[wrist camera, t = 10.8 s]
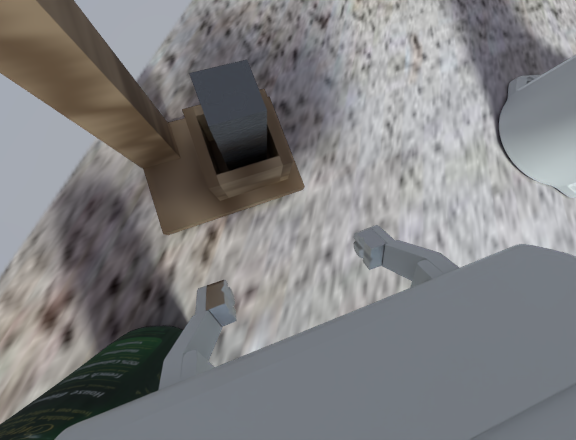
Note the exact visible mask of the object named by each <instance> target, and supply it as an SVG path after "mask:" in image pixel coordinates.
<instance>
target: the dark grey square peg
mask: <svg viewBox="0 0 576 440" xmlns="http://www.w3.org/2000/svg"><path fill="white" fill-rule="evenodd" d="M189 74H190V76H191V79H192V82H193V85H194V87H195V90H196V93H197V96H198V99H199V101H200V104H201V107H202V110H203V112H204V115H205V118H206V121H207V123H208V126H209V128H210V131H211V133H212V135H213V137H214V139H215V141H216V144H217V146H218V148H219V150H220V152H221V154H222V157H223V159H224V161H225V163H226V165H227V167H228V170H229V171H231V170H234V169H238V168H241V167H244V166H248V165H251V164H254V163H257V162H261V161H264V160H267V109H266V106H265V104H264V101H263V99H262V96H261V94H260V91H259V89H258V86H257V84H256V81H255V79H254V76H253V74H252V71H251V69H250V66H249V63H248V61H247V60H243V61H239V62H235V63H231V64H226V65H222V66H218V67H214V68H209V69H205V70H201V71H197V72H192V73H189Z"/></svg>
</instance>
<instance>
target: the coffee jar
mask: <svg viewBox="0 0 576 440" xmlns="http://www.w3.org/2000/svg"><path fill="white" fill-rule="evenodd" d="M182 332H183V331H182V330H181V329H179V328H176V327H171V326H151V327H143V328H139V329H135V330H132V331H130V332H128V333H127V334H125V335H123V336H122V337H120V338H119V339H117V340H116V341H114V342H113V343H111V344H110V345H109V346H107V347H106V348H105V349H103V350H102V351H101V352H99V353H98V354H97V355H95V356H94V357H93V358H91V359H90V360H89V361H87V362H86V363H85V364H84V365H82V366H81V367H80V368H78V369H77V370H76V371H74V372H73V373H72V374H70V375H69V376H68V377H66V378H65V379H63V380H62V381H61V382H59V383H58V384H57V385H55V386H54V387H52V388H51V389H50V390H48V391H47V392H45V393H44V394H43V395H41V396H40V397H39V398H37V399H36V400H34V401H33V402H32V403H30V404H29V405H27V406H26V407H25V408H23V409H22V410H20V411H19V412H18V413H16V414H15V415H13V416H12V417H10V418H9V419H8V420H6V421H5V422H3V423H2V424H0V440H54V439H55V438H56V437H57V436H58V435H59V434H60V433H61V432H62V431H64V430H65V429H67V428H68V427H70V426H72V425H74V424H76V423H79V422H81V421H84V420H86V419H89V418H91V417H94V416H96V415H99V414H101V413H104V412H106V411H109V410H111V409H114V408H116V407H119V406H121V405H123V404H126V403H128V402H131V401H133V400H136V399H138V398H141V397H143V396H146V395H148V394H151V393H153V392H156V391H158V390H159V384H160V379H161V373H162V368H163V362H164V359H165V358H166V356H167V355H168V353H169V352H170V350H171V349H172V347H173V346H174V344H175V342H176V341H177V339H178V338H179V336H180V335H181V333H182Z"/></svg>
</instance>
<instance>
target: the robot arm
mask: <svg viewBox="0 0 576 440" xmlns="http://www.w3.org/2000/svg"><path fill="white" fill-rule="evenodd" d="M499 132H500V137H501V141H502V144H503V146H504V149H505V151H506V152H507V154H508V156H509V157H510V159H511V160H512V162H513V163H514V164H515V165H516V166H517V167H518V168H519V169H520V170H521V171H522V172H523V173H524V174H526V175H527V176H529V177H530V178H532V179H534V180H536V181H538V182H541V183H544V184H547V185H550V186H553V187H555V188H557V189H558V190H559V191H561V192H562V193H563V194H565V195H566V196H568V197H570V198H576V55H574V56H573V57H571V58H569V59H568V60H566V61H564V62H563V63H561V64H559V65H558V66H556V67H554V68H553V69H551V70H549V71H548V72H546V73H544V74H543V75H527V76H519V77H518V78H516V79H514V80H512V81H511V82H510V83H509V88H508V99H507V101H506V103H505V105H504V107H503V109H502V111H501V114H500V119H499ZM354 239H355V242H354V249H355V252H356V254H357V255H358V256H359V257H360V258H363V262H364V264H365V265H366V266H367V267H368V269H369V270H370V269H373V268H376V267H379V266H383V267H385V268H387V269H389V270H391V271H393V272H395V273H397V274H399V275H401V276H403V277H405V278H407V279H409V280H411V281H412V284H411V287H410V288H409V289H406V290H404V291H402V292H399V293H397V294H394V295H392V296H389V297H387V298H384V299H382V300H379V301H377V302H374V303H372V304H370V305H367V306H365V307H362V308H360V309H357V310H355V311H352V312H350V313H347V314H345V315H342V316H340V317H338V318H335V319H333V320H330V321H328V322H325V323H323V324H320V325H318V326H315V327H313V328H311V329H308V330H306V331H303V332H301V333H298V334H296V335H293V336H291V337H289V338H286V339H284V340H281V341H279V342H276V343H274V344H271V345H269V346H266V347H264V348H261V349H259V350H257V351H254V352H252V353H249V354H247V355H244V356H242V357H239V358H237V359H234V360H232V361H229V362H227V363H225V364H222V365H220V366H217V367H214V366H213V365H212V364H211V363H210V362H209V358H210V356H211V354H212V351H213V349H214V346H215V344H216V342H217V339H218V337H219V334H220V332H221V330H222V327H223V326H225V325H228V324H230V323H233V322H235V321H237V320H236V310H235V308H234V307H233V306H234V304H235V299H234V295H233V292H232V290H231V288H230V287H228V283H227V281H226V280H222V281H219V282H216V283H213V284H210V285H207V286H204V287H201V288H198V291H197V299H196V312H195V315H194V316H192V318H191V319H190V321H189V322H188V324H187V325H186V327H185V328H184V330H183V332H182V333H181V335H180V336H179V338H178V339H177V341H176V342H175V344H174V346H173V347H172V349H171V350H170V352H169V353H168V355H167V356H166V358H165V359H164V362H163V368H162V373H161V379H160V384H159V390H158V391H156V392H153V393H151V394H148V395H146V396H143V397H141V398H138V399H136V400H133V401H131V402H128V403H126V404H123V405H121V406H119V407H116V408H114V409H111V410H109V411H106V412H104V413H101V414H99V415H96V416H94V417H91V418H89V419H86V420H84V421H81V422H79V423H76V424H74V425H72V426H70V427H68V428H67V429H65V430H64V431H62V432H61V433H60V434H59V435H58V436H57V437H56V438H55V439H54V440H576V257H575V256H573V255H570V254H568V253H564V252H560V251H556V250H552V249H547V248H543V247H538V246H533V245H527V244H519V245H515V246H512V247H510V248H507V249H505V250H502V251H500V252H497V253H495V254H492V255H490V256H488V257H485V258H483V259H480V260H478V261H475V262H473V263H470V264H468V265H465V266H463V267H461V268H459V267H458V266H456V265H455V264H454V263H453V262H451V261H450V260H449V259H447V258H446V257H445V256H444V255H442V254H441V253H439V252H436V251H432V250H429V249H426V248H422V247H419V246H416V245H413V244H409V243H406V242H403V241H399V240H396V241H395V240H394V239H393V238H392V237H391V236H390V235H388V234H387V233H386V232H385V231H384V230H383V229H382V228H381V227H379V226H378V225H375V226H373V227H370V228H367V229H364V230H362V231H359V232H356V233H354Z"/></svg>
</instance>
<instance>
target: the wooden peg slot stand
mask: <svg viewBox="0 0 576 440" xmlns="http://www.w3.org/2000/svg"><path fill="white" fill-rule="evenodd" d="M0 73H1V74H3V75H4V76H6V77H7V78H9V79H10V80H12V81H13V82H15V83H16V84H18V85H19V86H21V87H22V88H24V89H25V90H27V91H28V92H30V93H31V94H33V95H34V96H35V97H37V98H38V99H40V100H42V101H43V102H44V103H46V104H48V105H49V106H51V107H52V108H54V109H55V110H56V111H58V112H59V113H61V114H62V115H64V116H65V117H67V118H68V119H70V120H71V121H73V122H75V123H76V124H77V125H79V126H80V127H82V128H83V129H85V130H87V131H88V132H89V133H91V134H92V135H94V136H95V137H97V138H98V139H100V140H101V141H103V142H104V143H106V144H107V145H109V146H110V147H112V148H113V149H115V150H116V151H118V152H119V153H121V154H122V155H123V156H125V157H126V158H128V159H129V160H131V161H132V162H134V163H135V164H137V165H138V166H140V167H141V168H143V169H144V172H145V176H146V179H147V182H148V185H149V189H150V192H151V195H152V199H153V202H154V205H155V208H156V212H157V215H158V218H159V222H160V225H161V228H162V231H163V234H166V235H170V234H173V233H176V232H179V231H182V230H185V229H188V228H191V227H194V226H197V225H200V224H203V223H206V222H209V221H212V220H215V219H218V218H220V217H223V216H226V215H229V214H232V213H235V212H238V211H241V210H244V209H247V208H250V207H253V206H256V205H259V204H262V203H265V202H268V201H271V200H274V199H277V198H280V197H283V196H286V195H289V194H292V193H295V192H298V191H300V190H303V189H304V187H305V186H304V184H303V181H302V179H301V176H300V174H299V171H298V168H297V166H296V163H295V161H294V158H293V156H292V153H291V151H290V148H289V145H288V143H287V140H286V138H285V135H284V133H283V130H282V128H281V125H280V122H279V120H278V117H277V115H276V112H275V110H274V107H273V104H272V102H271V99H270V97H267V94H266V92H265V89H261V90H259V91H260V94H261V96H262V99H263V101H264V104H265V106H266V109H267V160H264V161H261V162H257V163H254V164H251V165H248V166H244V167H241V168H238V169H234V170H231V171H229V170H228V167H227V165H226V163H225V161H224V159H223V157H222V154H221V152H220V150H219V148H218V146H217V144H216V141H215V139H214V137H213V135H212V133H211V131H210V128H209V126H208V123H207V121H206V118H205V115H204V112H203V110H202V107H201V105H197V106H193V107H189V108H185V109H182V111H183V114H184V117H185V118H184V119H180V120H176V121H172V122H168V123H167V121H166V120H165V119H164V117H163V116H162V115H161V113H160V112H159V111H158V110H157V108H156V107H155V106H154V104H153V103H152V102H151V100H150V99H149V98H148V97H147V95H146V94H145V93H144V91H143V90H142V89H141V87H140V86H139V85H138V83H137V82H136V81H135V80H134V78H133V77H132V76H131V75H130V73H129V72H128V71H127V69H126V68H125V67H124V65H123V64H122V63H121V61H120V60H119V59H118V58H117V56H116V55H115V54H114V52H113V51H112V50H111V48H110V47H109V46H108V44H107V43H106V42H105V40H104V39H103V38H102V37H101V35H100V34H99V33H98V32H97V30H96V29H95V28H94V26H93V25H92V24H91V22H90V21H89V20H88V19H87V17H86V16H85V14H84V13H83V12H82V11H81V9H80V8H79V7H78V5H77V4H76V3H75V1H74V0H0Z"/></svg>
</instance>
